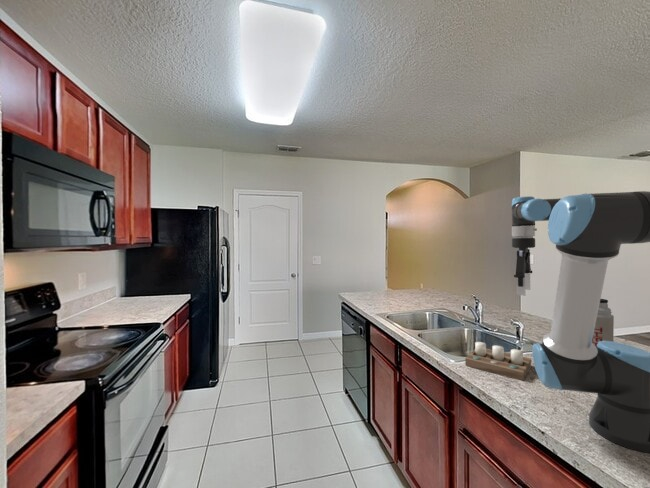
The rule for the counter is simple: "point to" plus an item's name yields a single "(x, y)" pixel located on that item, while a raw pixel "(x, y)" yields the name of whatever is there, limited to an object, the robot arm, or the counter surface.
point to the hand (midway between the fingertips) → (523, 292)
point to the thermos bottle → (603, 324)
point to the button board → (499, 365)
